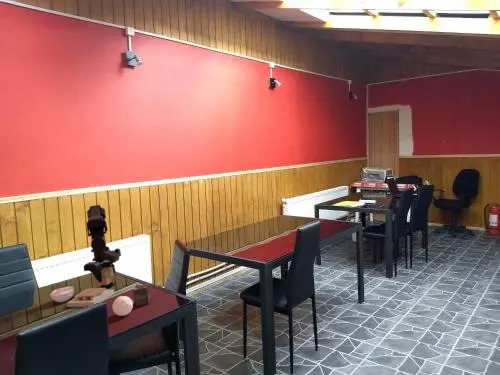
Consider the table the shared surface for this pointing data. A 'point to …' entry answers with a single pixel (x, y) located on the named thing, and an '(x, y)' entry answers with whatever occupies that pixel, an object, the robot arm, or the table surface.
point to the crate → (105, 276)
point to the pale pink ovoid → (123, 305)
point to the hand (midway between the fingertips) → (104, 279)
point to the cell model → (62, 294)
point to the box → (142, 294)
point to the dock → (90, 302)
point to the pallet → (90, 293)
